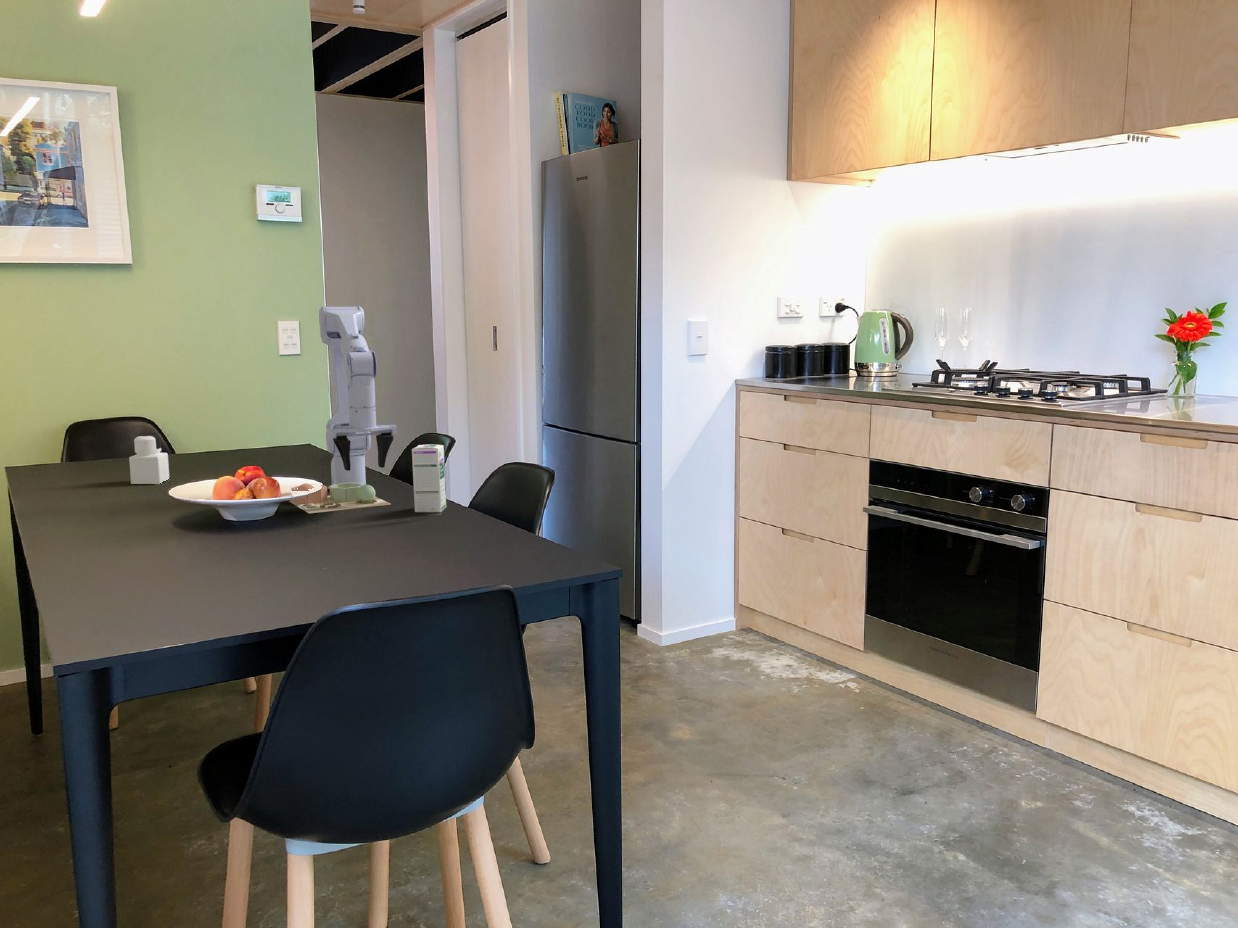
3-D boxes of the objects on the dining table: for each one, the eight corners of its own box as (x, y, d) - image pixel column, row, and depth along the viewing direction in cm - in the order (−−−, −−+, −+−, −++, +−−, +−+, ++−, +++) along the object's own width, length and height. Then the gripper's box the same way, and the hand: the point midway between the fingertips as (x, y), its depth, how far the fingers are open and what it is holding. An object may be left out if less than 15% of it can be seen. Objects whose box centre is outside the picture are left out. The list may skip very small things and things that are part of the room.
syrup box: (441, 515, 205) (439, 447, 202) (413, 515, 205) (411, 447, 202) (446, 510, 210) (444, 444, 208) (419, 510, 210) (417, 444, 208)
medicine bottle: (141, 480, 250) (137, 434, 248) (170, 479, 251) (166, 433, 249) (130, 485, 243) (126, 437, 241) (160, 484, 244) (156, 437, 242)
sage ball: (354, 501, 216) (354, 484, 215) (372, 500, 218) (371, 482, 217) (360, 504, 212) (359, 486, 212) (378, 502, 214) (377, 485, 214)
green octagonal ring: (327, 497, 221) (326, 484, 220) (358, 494, 225) (357, 481, 224) (336, 502, 215) (336, 489, 214) (368, 499, 219) (368, 486, 218)
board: (287, 503, 218) (286, 498, 218) (365, 495, 228) (365, 490, 228) (309, 516, 203) (308, 511, 203) (391, 507, 213) (391, 502, 213)
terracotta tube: (289, 499, 218) (288, 486, 218) (321, 496, 222) (320, 483, 222) (297, 505, 212) (296, 491, 212) (330, 501, 216) (329, 488, 216)
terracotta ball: (299, 502, 218) (291, 487, 216) (315, 494, 220) (307, 479, 218) (304, 505, 215) (296, 490, 213) (320, 497, 216) (313, 481, 215)
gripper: (334, 410, 205) (337, 473, 207) (400, 406, 212) (402, 468, 214) (324, 407, 210) (327, 469, 213) (389, 404, 218) (391, 464, 220)
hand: (364, 468), depth 214 cm, fingers open, 7 cm apart
